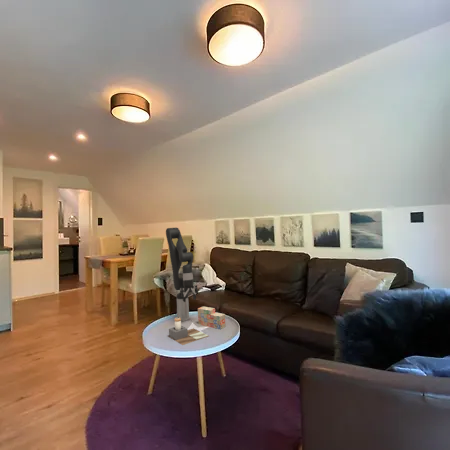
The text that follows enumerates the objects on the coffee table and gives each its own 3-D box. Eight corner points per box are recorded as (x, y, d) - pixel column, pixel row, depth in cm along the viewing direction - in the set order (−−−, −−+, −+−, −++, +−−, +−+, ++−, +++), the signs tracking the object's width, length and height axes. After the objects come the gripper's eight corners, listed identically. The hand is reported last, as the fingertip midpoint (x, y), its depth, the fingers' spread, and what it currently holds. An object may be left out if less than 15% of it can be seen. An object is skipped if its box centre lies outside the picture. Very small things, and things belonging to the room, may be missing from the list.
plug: (174, 336, 185) (173, 318, 186) (179, 334, 188) (178, 316, 188) (177, 338, 182) (176, 319, 182) (182, 336, 185) (181, 318, 185)
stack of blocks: (225, 326, 203) (225, 309, 203) (220, 329, 198) (219, 312, 198) (203, 322, 216) (202, 306, 216) (198, 324, 211) (197, 308, 211)
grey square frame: (169, 336, 186) (168, 328, 186) (181, 332, 191) (180, 325, 191) (175, 340, 179) (175, 332, 179) (187, 336, 184) (187, 328, 184)
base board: (167, 338, 186) (167, 335, 186) (193, 330, 199) (193, 327, 199) (182, 347, 171) (182, 344, 171) (209, 338, 183) (209, 335, 183)
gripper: (193, 277, 218) (195, 298, 217) (177, 280, 209) (178, 302, 208) (198, 277, 212) (200, 299, 211) (182, 280, 203) (183, 303, 202)
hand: (189, 300), depth 210 cm, fingers open, 8 cm apart
